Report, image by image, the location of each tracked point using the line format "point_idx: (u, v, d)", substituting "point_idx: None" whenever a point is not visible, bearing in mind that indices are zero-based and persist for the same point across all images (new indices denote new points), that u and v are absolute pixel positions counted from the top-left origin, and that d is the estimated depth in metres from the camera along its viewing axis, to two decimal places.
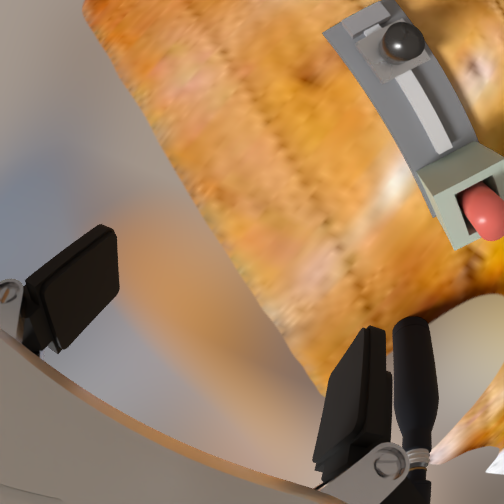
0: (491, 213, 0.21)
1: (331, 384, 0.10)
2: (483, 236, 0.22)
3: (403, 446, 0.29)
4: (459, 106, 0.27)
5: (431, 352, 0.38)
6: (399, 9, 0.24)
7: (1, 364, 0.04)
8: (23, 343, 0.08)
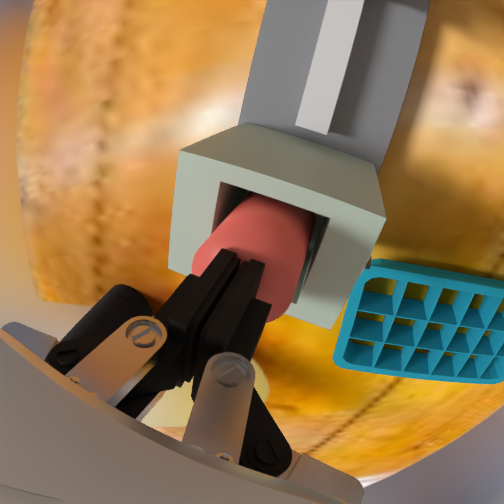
0: None
1: None
2: None
3: None
4: (396, 102, 0.16)
5: None
6: None
7: (1, 364, 0.04)
8: None
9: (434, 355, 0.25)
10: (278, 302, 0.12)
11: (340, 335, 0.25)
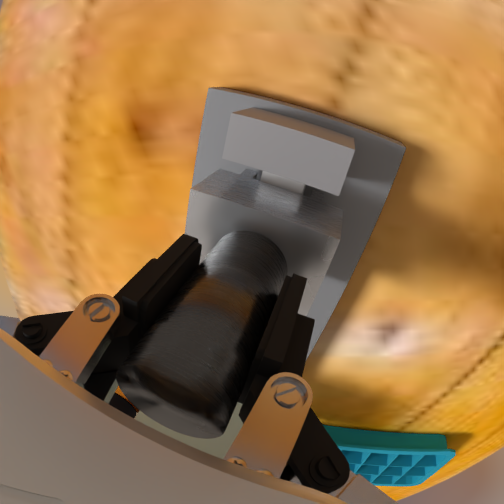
0: None
1: None
2: None
3: None
4: None
5: None
6: (387, 181, 0.14)
7: (1, 364, 0.04)
8: (101, 362, 0.08)
9: None
10: None
11: None
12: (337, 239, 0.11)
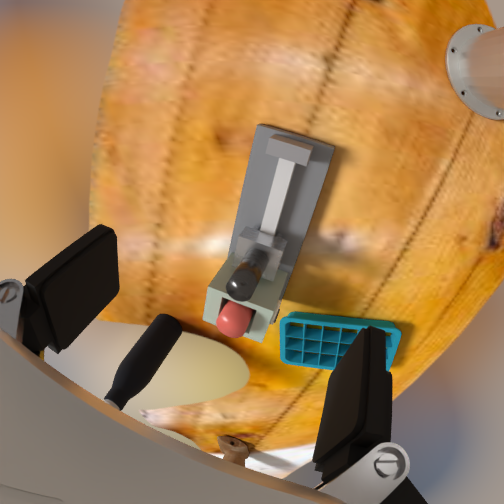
0: (231, 322, 0.39)
1: (331, 384, 0.10)
2: (218, 327, 0.41)
3: (107, 394, 0.46)
4: (297, 248, 0.44)
5: (166, 351, 0.57)
6: (327, 162, 0.37)
7: (1, 364, 0.04)
8: (23, 343, 0.08)
9: None
10: (241, 332, 0.40)
11: (280, 347, 0.54)
12: (282, 251, 0.40)
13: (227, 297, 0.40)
